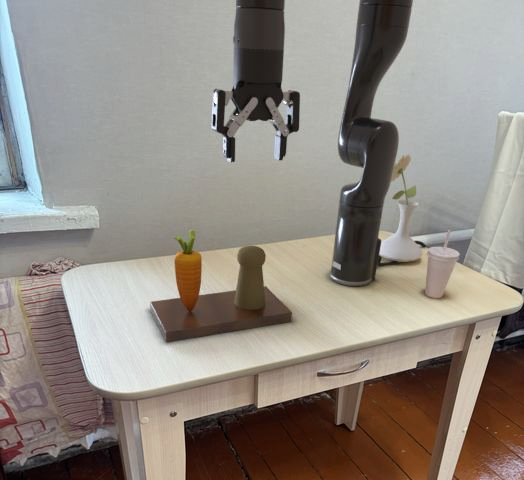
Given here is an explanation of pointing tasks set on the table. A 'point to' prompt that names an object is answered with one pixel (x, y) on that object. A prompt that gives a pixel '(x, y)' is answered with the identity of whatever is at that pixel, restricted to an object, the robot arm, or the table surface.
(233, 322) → the cutting board
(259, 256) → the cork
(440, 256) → the smoothie
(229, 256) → the table surface
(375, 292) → the table surface
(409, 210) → the flower in vase
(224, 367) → the table surface
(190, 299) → the carrot
